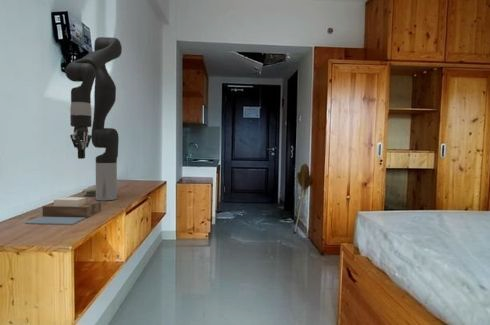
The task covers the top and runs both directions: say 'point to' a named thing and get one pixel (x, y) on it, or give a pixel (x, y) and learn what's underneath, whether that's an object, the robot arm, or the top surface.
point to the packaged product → (90, 190)
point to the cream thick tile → (70, 201)
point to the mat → (56, 220)
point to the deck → (72, 210)
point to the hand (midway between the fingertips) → (81, 158)
